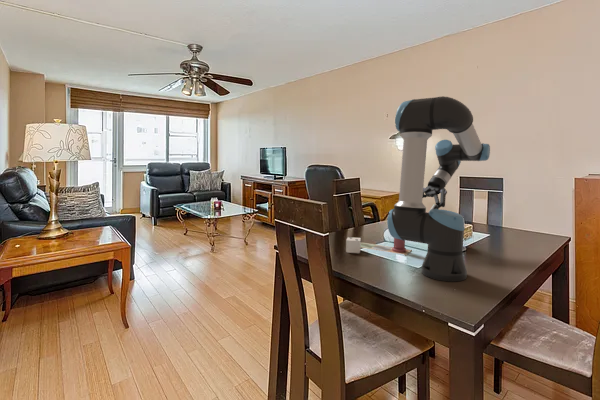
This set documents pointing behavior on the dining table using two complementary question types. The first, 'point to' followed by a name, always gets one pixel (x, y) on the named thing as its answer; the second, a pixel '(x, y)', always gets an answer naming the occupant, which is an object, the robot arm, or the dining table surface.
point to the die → (353, 245)
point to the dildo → (399, 245)
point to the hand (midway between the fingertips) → (416, 214)
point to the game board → (382, 248)
